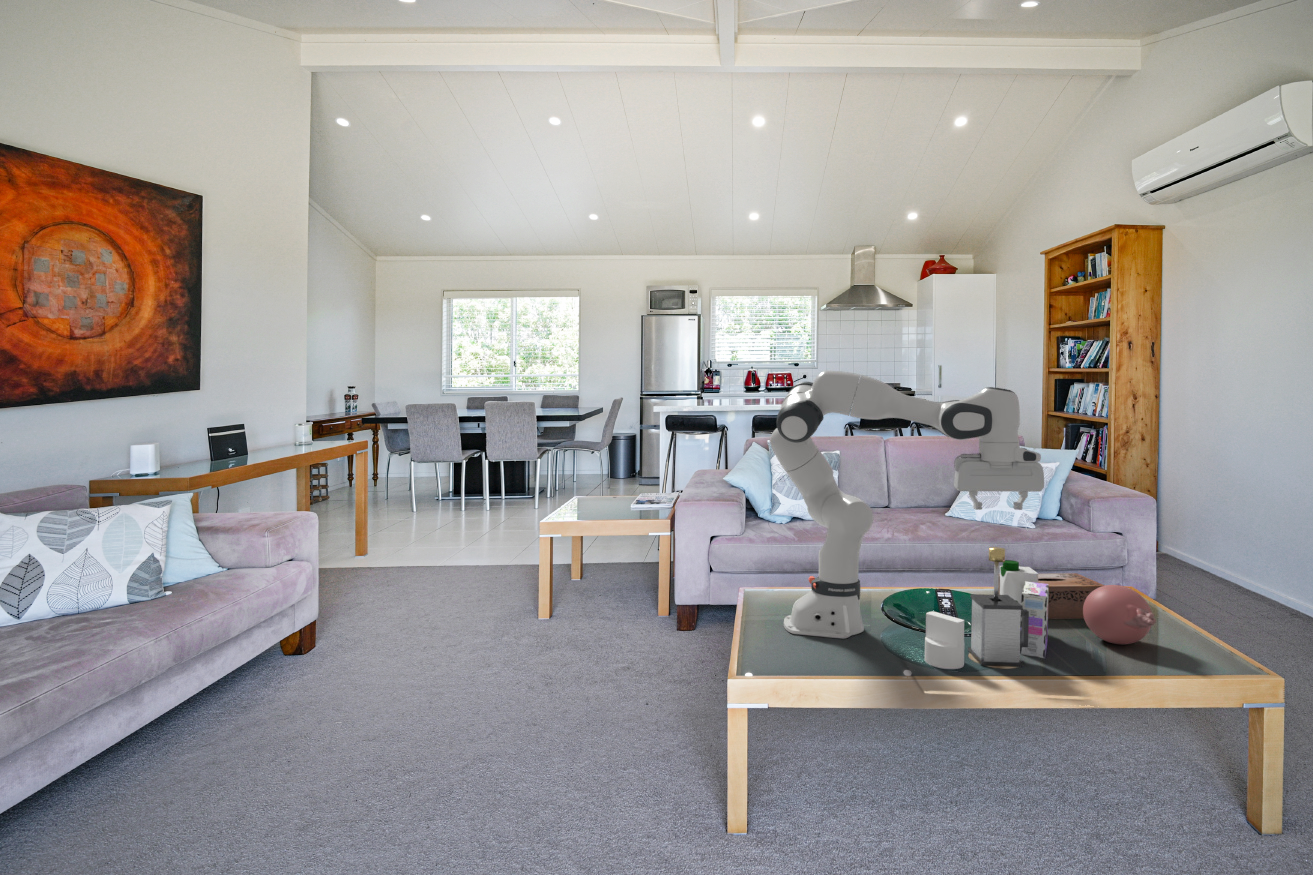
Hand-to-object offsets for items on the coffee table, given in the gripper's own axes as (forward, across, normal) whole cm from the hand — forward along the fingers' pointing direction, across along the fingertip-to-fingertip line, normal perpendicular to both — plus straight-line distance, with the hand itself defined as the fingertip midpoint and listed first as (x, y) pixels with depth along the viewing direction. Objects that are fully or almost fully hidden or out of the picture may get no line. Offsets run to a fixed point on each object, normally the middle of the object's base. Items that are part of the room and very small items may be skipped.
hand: (997, 509), depth 169 cm
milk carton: (+38, +14, +22) cm, 46 cm away
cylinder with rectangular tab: (+38, -13, -3) cm, 41 cm away
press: (+38, +1, 0) cm, 38 cm away
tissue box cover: (+39, +31, +43) cm, 66 cm away
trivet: (+38, 0, 0) cm, 38 cm away
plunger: (+27, 0, 0) cm, 27 cm away
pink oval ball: (+39, +37, +14) cm, 55 cm away
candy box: (+39, +13, +9) cm, 42 cm away
